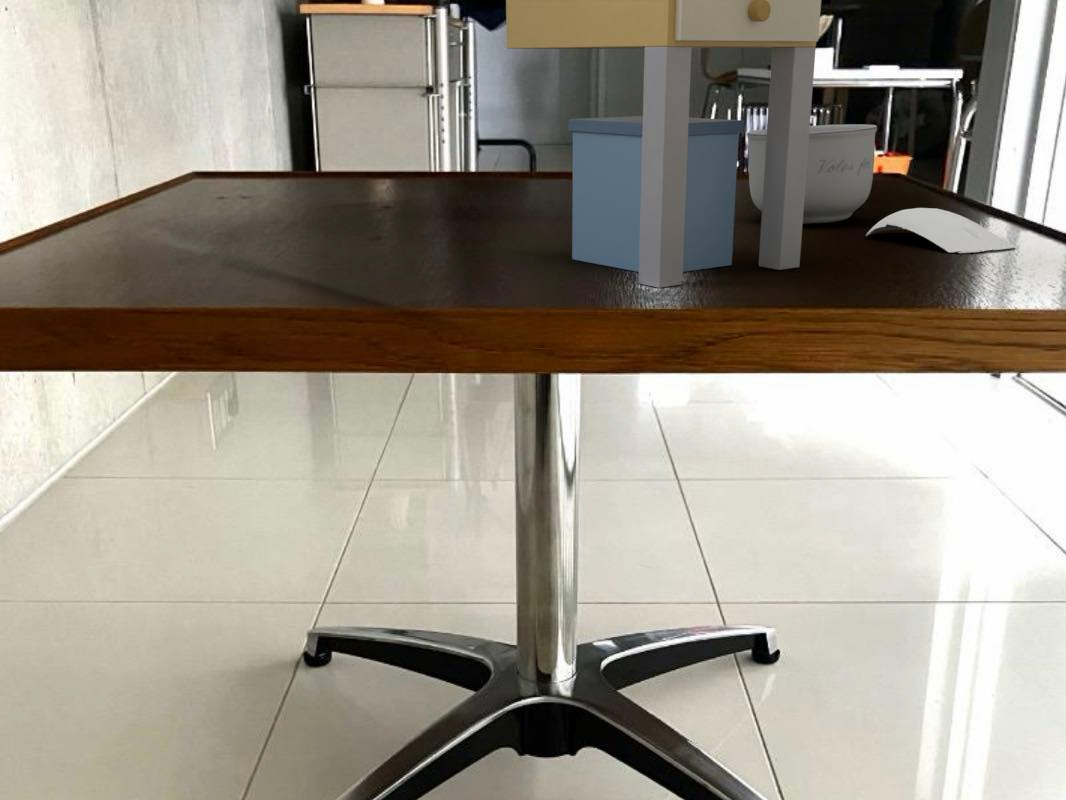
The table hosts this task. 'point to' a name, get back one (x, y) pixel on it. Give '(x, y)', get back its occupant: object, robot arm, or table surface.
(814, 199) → the teacup
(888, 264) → the table surface
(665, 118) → the drawer chest
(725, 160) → the storage box
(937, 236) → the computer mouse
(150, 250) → the table surface
